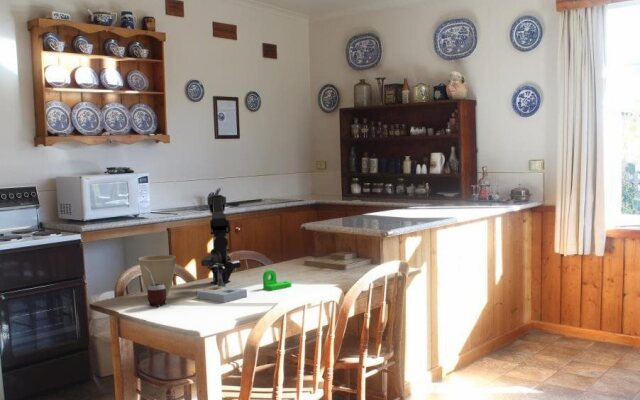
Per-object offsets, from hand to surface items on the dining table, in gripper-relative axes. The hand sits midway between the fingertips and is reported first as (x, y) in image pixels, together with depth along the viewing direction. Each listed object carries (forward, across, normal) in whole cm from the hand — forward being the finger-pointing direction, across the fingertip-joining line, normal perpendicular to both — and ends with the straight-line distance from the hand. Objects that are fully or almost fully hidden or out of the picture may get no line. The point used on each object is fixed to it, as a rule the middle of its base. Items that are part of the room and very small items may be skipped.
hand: (221, 283), depth 277 cm
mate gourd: (+3, -1, -33) cm, 33 cm away
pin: (+3, 0, 0) cm, 3 cm away
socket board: (+3, +11, -10) cm, 15 cm away
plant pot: (+3, -15, -21) cm, 26 cm away
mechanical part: (+4, +17, +17) cm, 24 cm away
